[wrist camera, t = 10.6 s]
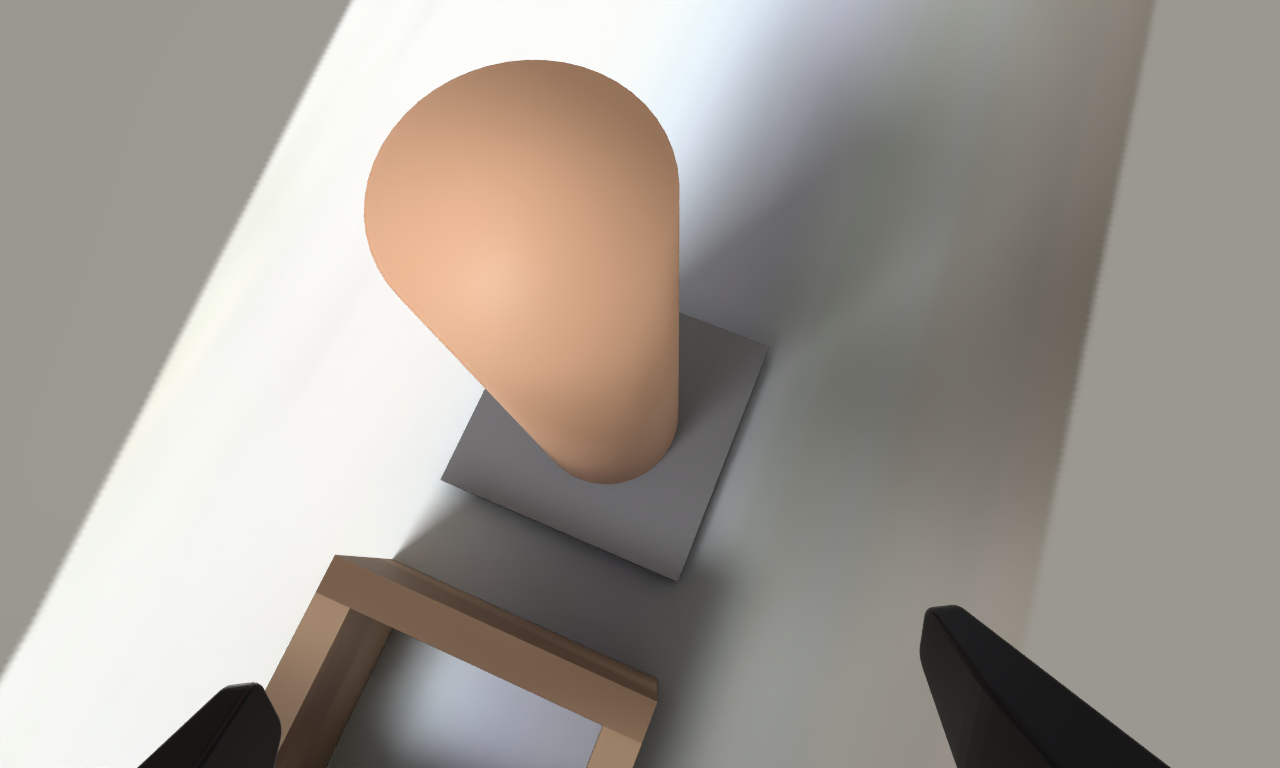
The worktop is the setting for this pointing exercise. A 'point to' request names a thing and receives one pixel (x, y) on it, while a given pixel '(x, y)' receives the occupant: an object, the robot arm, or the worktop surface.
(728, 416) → the mat
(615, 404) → the peg
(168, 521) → the worktop surface
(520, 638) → the socket block
